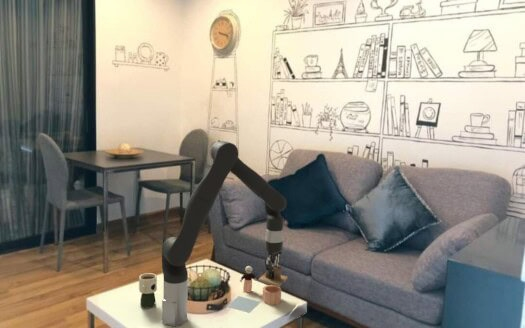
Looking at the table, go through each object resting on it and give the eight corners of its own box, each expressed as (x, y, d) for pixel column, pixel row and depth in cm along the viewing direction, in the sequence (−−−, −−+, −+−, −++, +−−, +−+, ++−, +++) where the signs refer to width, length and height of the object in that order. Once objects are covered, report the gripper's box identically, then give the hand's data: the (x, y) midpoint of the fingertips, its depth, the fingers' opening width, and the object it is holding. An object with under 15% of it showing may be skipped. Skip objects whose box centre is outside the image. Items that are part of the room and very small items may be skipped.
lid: (279, 287, 183) (280, 274, 182) (257, 281, 187) (258, 268, 186) (287, 278, 192) (289, 266, 190) (267, 272, 196) (268, 260, 195)
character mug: (151, 312, 177) (151, 282, 175) (135, 311, 178) (134, 281, 176) (160, 300, 188) (160, 271, 186) (144, 299, 189) (144, 270, 187)
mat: (249, 314, 179) (249, 312, 179) (226, 307, 184) (226, 306, 184) (260, 303, 189) (260, 301, 189) (238, 297, 194) (238, 295, 194)
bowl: (276, 307, 185) (276, 294, 185) (259, 303, 189) (259, 290, 188) (283, 299, 193) (284, 287, 192) (267, 295, 196) (267, 283, 195)
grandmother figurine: (241, 295, 196) (242, 268, 194) (238, 291, 199) (239, 265, 197) (257, 292, 199) (258, 266, 196) (254, 289, 202) (255, 263, 200)
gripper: (272, 233, 194) (271, 269, 197) (259, 242, 182) (257, 281, 184) (288, 236, 191) (286, 273, 194) (275, 245, 178) (274, 285, 181)
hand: (272, 277), depth 189 cm, fingers closed on lid, 2 cm apart
